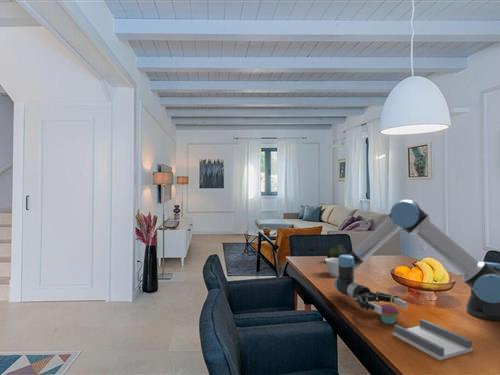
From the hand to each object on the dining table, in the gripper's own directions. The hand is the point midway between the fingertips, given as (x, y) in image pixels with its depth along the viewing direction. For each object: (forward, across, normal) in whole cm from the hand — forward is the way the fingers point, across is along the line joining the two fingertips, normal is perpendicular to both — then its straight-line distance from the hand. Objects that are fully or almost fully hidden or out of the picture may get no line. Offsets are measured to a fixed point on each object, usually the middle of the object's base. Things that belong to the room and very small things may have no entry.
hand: (394, 308), depth 136 cm
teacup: (-73, -23, -7) cm, 77 cm away
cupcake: (-3, 0, -7) cm, 8 cm away
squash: (-97, -44, -7) cm, 107 cm away
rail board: (+17, -1, -7) cm, 18 cm away
